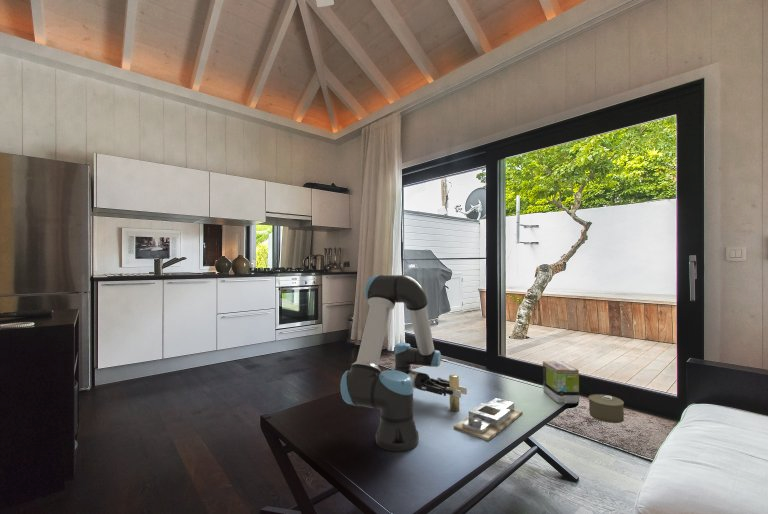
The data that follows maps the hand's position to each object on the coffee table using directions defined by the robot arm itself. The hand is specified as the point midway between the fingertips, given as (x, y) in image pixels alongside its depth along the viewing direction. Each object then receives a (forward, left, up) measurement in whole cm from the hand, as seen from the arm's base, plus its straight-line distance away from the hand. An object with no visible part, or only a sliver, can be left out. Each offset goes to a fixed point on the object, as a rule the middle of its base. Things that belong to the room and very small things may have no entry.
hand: (463, 392), depth 145 cm
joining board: (0, -12, -8) cm, 14 cm away
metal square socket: (0, -12, -8) cm, 14 cm away
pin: (0, +4, -8) cm, 9 cm away
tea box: (+44, -25, -9) cm, 51 cm away
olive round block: (+34, -45, -9) cm, 57 cm away
